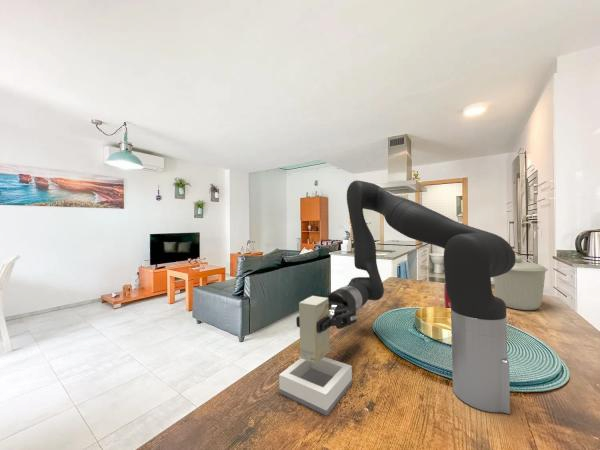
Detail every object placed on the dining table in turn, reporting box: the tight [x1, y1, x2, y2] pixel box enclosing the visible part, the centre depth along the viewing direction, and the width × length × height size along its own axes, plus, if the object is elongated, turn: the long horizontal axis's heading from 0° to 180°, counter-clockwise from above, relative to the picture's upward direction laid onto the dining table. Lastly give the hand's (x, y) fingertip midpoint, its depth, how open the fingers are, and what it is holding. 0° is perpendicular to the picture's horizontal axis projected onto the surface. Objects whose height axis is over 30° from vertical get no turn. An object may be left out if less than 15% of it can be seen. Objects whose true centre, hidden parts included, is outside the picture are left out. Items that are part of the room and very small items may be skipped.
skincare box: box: [298, 295, 331, 363], centre depth 55 cm, size 6×4×12 cm
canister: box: [492, 254, 549, 311], centre depth 104 cm, size 18×18×21 cm
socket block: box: [278, 356, 353, 417], centre depth 55 cm, size 12×12×4 cm
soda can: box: [443, 283, 451, 309], centre depth 100 cm, size 7×7×12 cm
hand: (307, 325), depth 53 cm, fingers closed on skincare box, 4 cm apart
